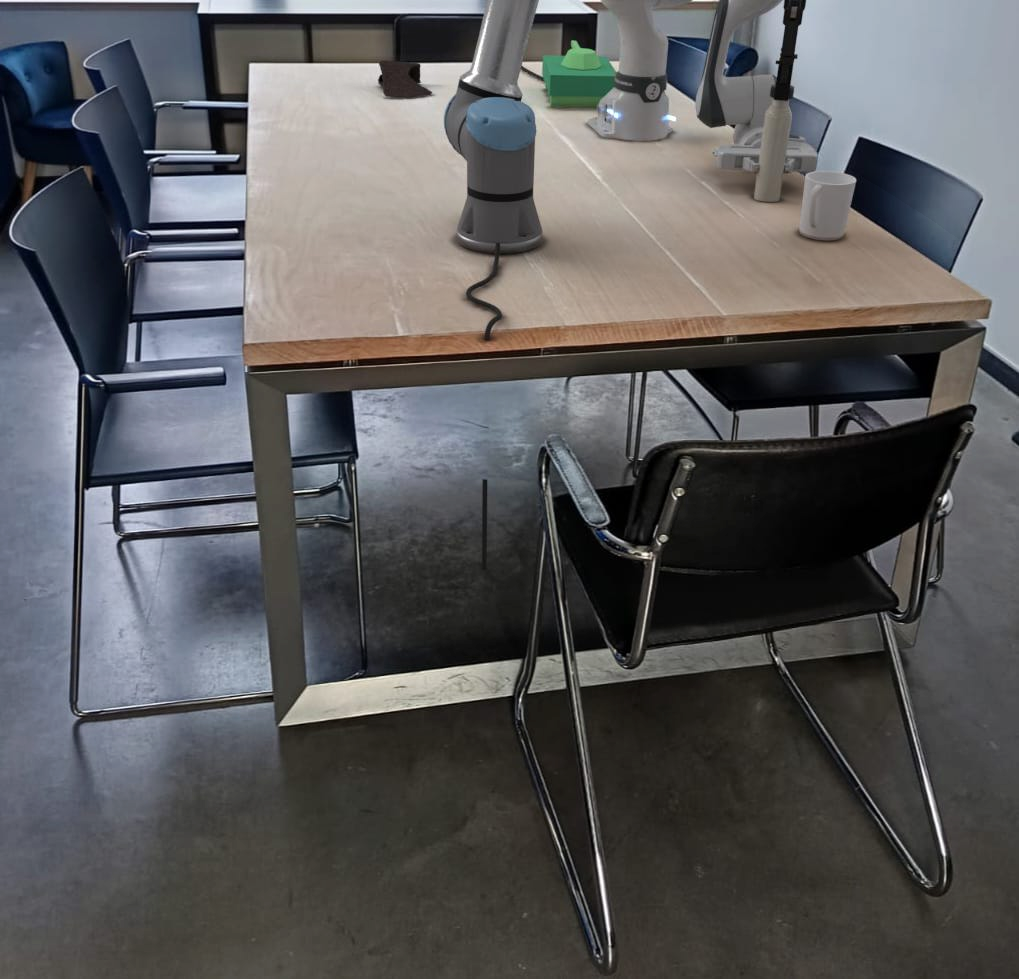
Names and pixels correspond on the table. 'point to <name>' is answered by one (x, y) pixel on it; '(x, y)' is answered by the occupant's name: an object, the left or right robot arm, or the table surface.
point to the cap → (789, 91)
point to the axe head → (401, 79)
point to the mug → (826, 204)
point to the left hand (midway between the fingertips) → (781, 97)
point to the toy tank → (577, 77)
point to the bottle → (773, 151)
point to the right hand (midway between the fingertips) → (772, 169)
